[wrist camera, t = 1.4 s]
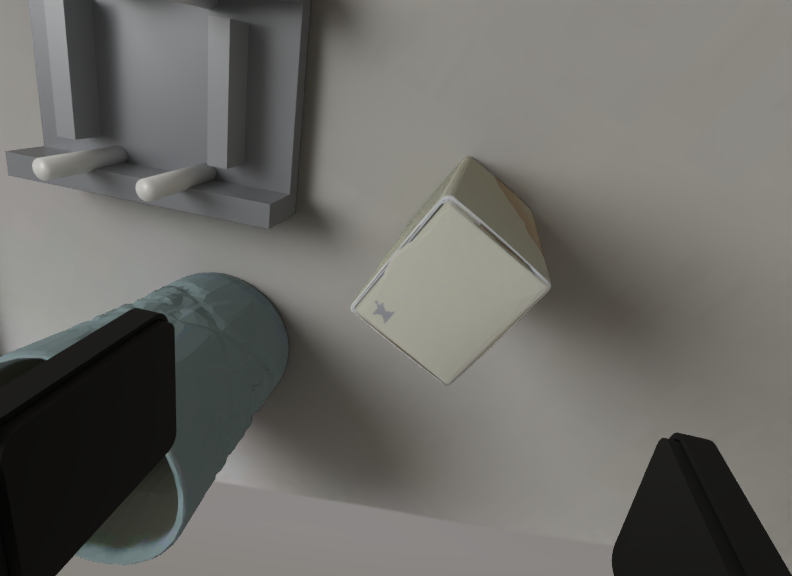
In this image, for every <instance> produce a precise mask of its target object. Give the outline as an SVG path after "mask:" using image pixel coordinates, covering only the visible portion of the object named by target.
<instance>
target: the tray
mask: <svg viewBox="0 0 792 576" xmlns="http://www.w3.org/2000/svg"><path fill="white" fill-rule="evenodd" d="M28 3H29V12H30V22H31V31H32V40H33V49H34V58H35V67H36V76H37V85H38V94H39V103H40V112H41V121H42V130H43V139H44V146H42V147H34V148H27V149H19V150H12V151H5V153H6V160H7V167H8V175H9V176H14V177H19V178H24V179H29V180H33V181H38V182H43V183H48V184H53V185H58V186H62V187H67V188H72V189H77V190H82V191H87V192H92V193H96V194H101V195H106V196H111V197H116V198H121V199H126V200H130V201H135V202H140V203H145V204H150V205H155V206H159V207H164V208H169V209H174V210H179V211H184V212H189V213H193V214H198V215H203V216H208V217H213V218H218V219H222V220H227V221H232V222H237V223H242V224H247V225H252V226H256V227H261V228H266V229H270V228H271V227H273V226H275V225H276V224H278V223H279V222H281V221H283V220H284V219H286V218H288V217H289V216H291V215H293V214H294V213H295V211H296V197H297V184H298V170H299V157H300V143H301V130H302V116H303V103H304V89H305V76H306V63H307V49H308V36H309V22H310V9H311V0H28Z"/></svg>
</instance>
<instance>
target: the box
mask: <svg viewBox="0 0 792 576" xmlns="http://www.w3.org/2000/svg"><path fill="white" fill-rule="evenodd" d="M551 287H552V285H551V281H550V277H549V273H548V270H547V266H546V262H545V259H544V255H543V252H542V247H541V243H540V240H539V237H538V233H537V229H536V225H535V221H534V217H533V214H532V211H531V209H530V208H529V207H527V206H526V205H525V204H524V203H523V202H522V201H521V200H520V199H519V198H518V197H517V196H516V195H515V194H514V193H513V192H512V191H510V190H509V189H508V188H507V187H506V186H505V185H504V184H503V183H502V182H500V181H499V180H498V179H497V178H496V177H495V176H494V175H493V174H491V173H490V172H489V171H488V170H487V169H486V168H484V167H483V166H482V165H481V164H479V163H478V162H477V161H476V160H475V159H474V158H472V157H470V156H468V157H466V158H465V159H464V160H463V161H462V162H461V163H460V164H459V165H458V166H457V167H456V168H455V169H454V171H453V172H452V173H451V174H450V175H449V176H448V177H447V179H446V180H445V181H444V182H443V183H442V184H441V185H440V187H439V188H438V189H437V190H436V191H435V193H434V194H433V195H432V196H431V198H430V199H429V200H428V201H427V202H426V204H425V205H424V206H423V207H422V209H421V210H420V211H419V212H418V213H417V215H416V216H415V217H414V218H413V220H412V221H411V222H410V224H409V225H408V226H407V227H406V229H405V230H404V232H403V233H402V234H401V236H400V237H399V238H398V240H397V241H396V243H395V244H394V245H393V247H392V248H391V249H390V251H389V252H388V253H387V255H386V256H385V258H384V259H383V260H382V262H381V263H380V265H379V266H378V268H377V269H376V270H375V272H374V273H373V274H372V276H371V277H370V279H369V280H368V282H367V283H366V284H365V286H364V287H363V289H362V290H361V292H360V293H359V295H358V296H357V298H356V299H355V301H354V302H353V304H352V305H351V311H352V312H353V313H354V314H356V315H357V316H358V317H359V318H361V319H362V320H363V321H364V322H365V323H367V324H368V325H369V326H370V327H371V328H372V329H374V330H375V331H376V332H377V333H378V334H380V335H381V336H382V337H383V338H385V339H386V340H387V341H388V342H390V343H391V344H392V345H393V346H395V347H396V348H397V349H398V350H400V351H401V352H402V353H403V354H404V355H406V356H407V357H409V358H410V359H411V360H412V361H413V362H415V363H416V364H417V365H419V366H420V367H421V368H423V369H424V370H425V371H427V372H428V373H429V374H431V375H432V376H433V377H434V378H436V379H437V380H438V381H439V382H441V383H442V384H444V385H447V386H448V385H450V384H451V383H453V382H454V381H455V380H456V379H457V378H458V377H459V376H461V375H462V374H463V373H464V372H465V371H466V370H467V369H468V368H469V367H471V366H472V365H473V364H474V363H475V362H476V361H477V360H478V359H479V358H480V357H482V356H483V355H484V354H485V353H486V352H487V351H488V350H489V349H490V348H491V347H492V346H493V345H494V344H495V343H496V342H498V341H499V340H500V339H501V338H502V337H503V336H504V335H505V334H506V333H507V332H508V331H509V330H510V329H511V328H512V327H513V326H514V325H515V324H516V323H517V322H518V321H519V320H520V319H521V318H522V317H523V316H524V315H525V314H526V313H527V312H528V311H529V310H530V309H531V308H532V307H533V306H534V305H535V304H536V303H537V302H538V301H539V300H540V299H541V298H542V297H543V296H544V295H545V294H546V293H548V292H549V290H550V289H551Z"/></svg>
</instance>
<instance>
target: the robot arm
mask: <svg viewBox="0 0 792 576" xmlns="http://www.w3.org/2000/svg"><path fill="white" fill-rule="evenodd" d="M176 432H177V429H176V375H175V330H174V326H173V324H171V323H169V322H168V319H167V317H166V316H165V315H164V314H162V313H158V312H153V311H149V310H145V309H140V308H133V309H131V310H129V311H127V312H126V313H124V314H122V315H121V316H119V317H117V318H116V319H114V320H112V321H111V322H109V323H107V324H106V325H104V326H102V327H101V328H99V329H98V330H96V331H94V332H93V333H91V334H89V335H88V336H86V337H84V338H83V339H81V340H79V341H78V342H76V343H74V344H73V345H71V346H69V347H68V348H66V349H64V350H63V351H61V352H59V353H58V354H56V355H54V356H53V357H51V358H49V359H48V360H46V361H44V362H43V363H41V364H40V365H38V366H36V367H35V368H33V369H31V370H30V371H28V372H26V373H25V374H23V375H21V376H20V377H18V378H16V379H15V380H13V381H11V382H10V383H8V384H6V385H5V386H3V387H1V388H0V576H55V575H57V574H58V572H59V571H60V570H61V569H62V568H63V567H64V566H65V565H66V564H67V563H68V561H69V560H70V559H71V558H72V557H73V556H74V555H75V554H76V553H77V552H78V551H79V549H80V548H81V547H82V546H83V545H84V544H85V543H86V542H87V541H88V540H89V538H90V537H91V536H92V535H93V534H94V533H95V532H96V531H97V530H98V529H99V528H100V526H101V525H102V524H103V523H104V522H105V521H106V520H107V519H108V518H109V517H110V515H111V514H112V513H113V512H114V511H115V510H116V509H117V508H118V507H119V506H120V505H121V503H122V502H123V501H124V500H125V499H126V498H127V497H128V496H129V495H130V494H131V492H132V491H133V490H134V489H135V488H136V487H137V486H138V485H139V484H140V483H141V482H142V480H143V479H144V478H145V477H146V476H147V475H148V474H149V473H150V472H151V471H152V469H153V468H154V467H155V466H156V465H157V464H158V463H159V462H160V461H161V460H162V459H163V457H164V456H165V455H166V454H167V453H168V452H169V451H170V449H171V448H172V446H173V444H174V441H175V438H176ZM612 568H613V573H614V576H792V575H791V573H790V572H789V570H788V568H787V566H786V565H785V563H784V561H783V560H782V558H781V556H780V554H779V553H778V551H777V549H776V548H775V546H774V544H773V543H772V541H771V539H770V537H769V536H768V534H767V532H766V531H765V529H764V527H763V525H762V524H761V522H760V520H759V519H758V517H757V515H756V513H755V512H754V510H753V508H752V507H751V505H750V503H749V501H748V500H747V498H746V496H745V495H744V493H743V491H742V489H741V488H740V486H739V484H738V483H737V481H736V479H735V478H734V476H733V474H732V472H731V471H730V469H729V467H728V466H727V464H726V462H725V460H724V459H723V457H722V455H721V454H720V452H719V450H718V448H717V447H716V445H715V444H714V443H713V442H712V441H710V440H707V439H703V438H699V437H694V436H690V435H686V434H681V433H674V434H673V435H672V436H671V437H670V439H667V438H662V439H661V440H660V441H659V442H658V444H657V446H656V448H655V451H654V453H653V456H652V458H651V460H650V463H649V465H648V467H647V470H646V472H645V474H644V477H643V479H642V482H641V484H640V486H639V489H638V491H637V493H636V496H635V498H634V500H633V503H632V505H631V508H630V510H629V512H628V515H627V517H626V519H625V522H624V524H623V526H622V529H621V531H620V534H619V536H618V538H617V541H616V543H615V546H614V549H613V554H612Z"/></svg>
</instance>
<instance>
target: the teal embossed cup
mask: <svg viewBox="0 0 792 576" xmlns="http://www.w3.org/2000/svg"><path fill="white" fill-rule="evenodd" d="M133 308H140V309H145V310H149V311H153V312H158V313H162V314H164V315H165V316H166V317H167V319H168V322H169V323H171V324H173V326H174V330H175V375H176V429H177V432H176V438H175V441H174V444H173V446H172V448H171V449H170V451H169V452H168V453H167V454H166V455H165V456H164V457H163V459H162V460H161V461H160V462H159V463H158V464H157V465H156V466H155V467H154V468H153V469H152V471H151V472H150V473H149V474H148V475H147V476H146V477H145V478H144V479H143V480H142V482H141V483H140V484H139V485H138V486H137V487H136V488H135V489H134V490H133V491H132V492H131V494H130V495H129V496H128V497H127V498H126V499H125V500H124V501H123V502H122V503H121V505H120V506H119V507H118V508H117V509H116V510H115V511H114V512H113V513H112V514H111V515H110V517H109V518H108V519H107V520H106V521H105V522H104V523H103V524H102V525H101V526H100V528H99V529H98V530H97V531H96V532H95V533H94V534H93V535H92V536H91V537H90V538H89V540H88V541H87V542H86V543H85V544H84V545H83V546H82V547H81V548H80V549H79V551H78V552H77V553H76V554H75V556H78V557H80V558H83V559H86V560H90V561H93V562H98V563H105V564H119V565H120V564H121V565H126V564H135V563H139V562H143V561H147V560H150V559H152V558H155V557H157V556H159V555H161V554H162V553H163V552H165V551H166V550H167V549H168V548H169V547H171V546H172V545H173V544H174V543H175V541H176V540H177V539H178V537H179V536H180V535H181V533H182V531H183V530H184V528H185V527H186V525H187V523H188V522H189V520H190V518H191V517H192V515H193V513H194V512H195V510H196V508H197V507H198V505H199V504H200V502H201V501H202V499H203V497H204V495H205V493H206V492H207V490H208V489H209V488H210V486H211V484H212V483H213V481H214V480H215V477H216V474H217V473H218V472H219V471H221V469H222V468H223V466H224V465H225V463H226V460H227V457H228V455H229V454H231V452H232V451H233V450H234V449H235V447H236V445H237V444H238V442H239V441H240V440H241V439H242V437H243V436H244V434H245V432H246V430H247V429H248V427H249V426H250V425H251V423H252V415H253V414H254V413H255V412H257V411H259V410H260V408H261V407H262V405H263V403H264V402H265V401H266V400H267V399H268V397H269V396H270V394H271V393H272V391H273V390H274V389H275V387H276V385H277V384H278V382H279V381H280V379H281V378H282V376H283V374H284V371H285V368H286V365H287V361H288V355H289V343H288V336H287V332H286V329H285V326H284V323H283V321H282V319H281V317H280V315H279V313H278V312H277V311H276V309H275V308H274V306H273V305H272V304H271V302H270V301H269V300H268V299H267V298H266V297H265V296H264V295H263V294H262V293H260V292H259V291H258V290H257V289H255V288H254V287H253V286H251V285H250V284H248V283H246V282H245V281H243V280H240V279H238V278H235V277H233V276H230V275H226V274H221V273H198V274H193V275H190V276H186V277H184V278H182V279H180V280H177V281H175V282H173V283H171V284H170V285H168V286H164V287H162V288H161V289H159V290H155V291H153V292H152V293H150V294H149V295H147V296H146V297H144V298H142V299H138V300H137V301H136V302H135V303H134V304H124V305H122V306H120V307H119V308H117V309H113V310H111V311H109V312H107V313H105V314H102V315H99V316H96V317H95V318H93V320H92V321H86V322H83V323H80V324H78V325H76V326H74V327H72V328H70V329H67V330H66V331H62V332H60V333H57V334H55V335H52V336H50V337H47V338H45V339H42V340H40V341H37V342H35V343H32V344H30V345H27V346H25V347H22V348H20V349H17V350H15V351H13V352H10V353H8V354H5V355H3V356H1V357H0V388H1V387H3V386H5V385H6V384H8V383H10V382H11V381H13V380H15V379H16V378H18V377H20V376H21V375H23V374H25V373H26V372H28V371H30V370H31V369H33V368H35V367H36V366H38V365H40V364H41V363H43V362H44V361H46V360H48V359H49V358H51V357H53V356H54V355H56V354H58V353H59V352H61V351H63V350H64V349H66V348H68V347H69V346H71V345H73V344H74V343H76V342H78V341H79V340H81V339H83V338H84V337H86V336H88V335H89V334H91V333H93V332H94V331H96V330H98V329H99V328H101V327H102V326H104V325H106V324H107V323H109V322H111V321H112V320H114V319H116V318H117V317H119V316H121V315H122V314H124V313H126V312H127V311H129V310H131V309H133Z"/></svg>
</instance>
